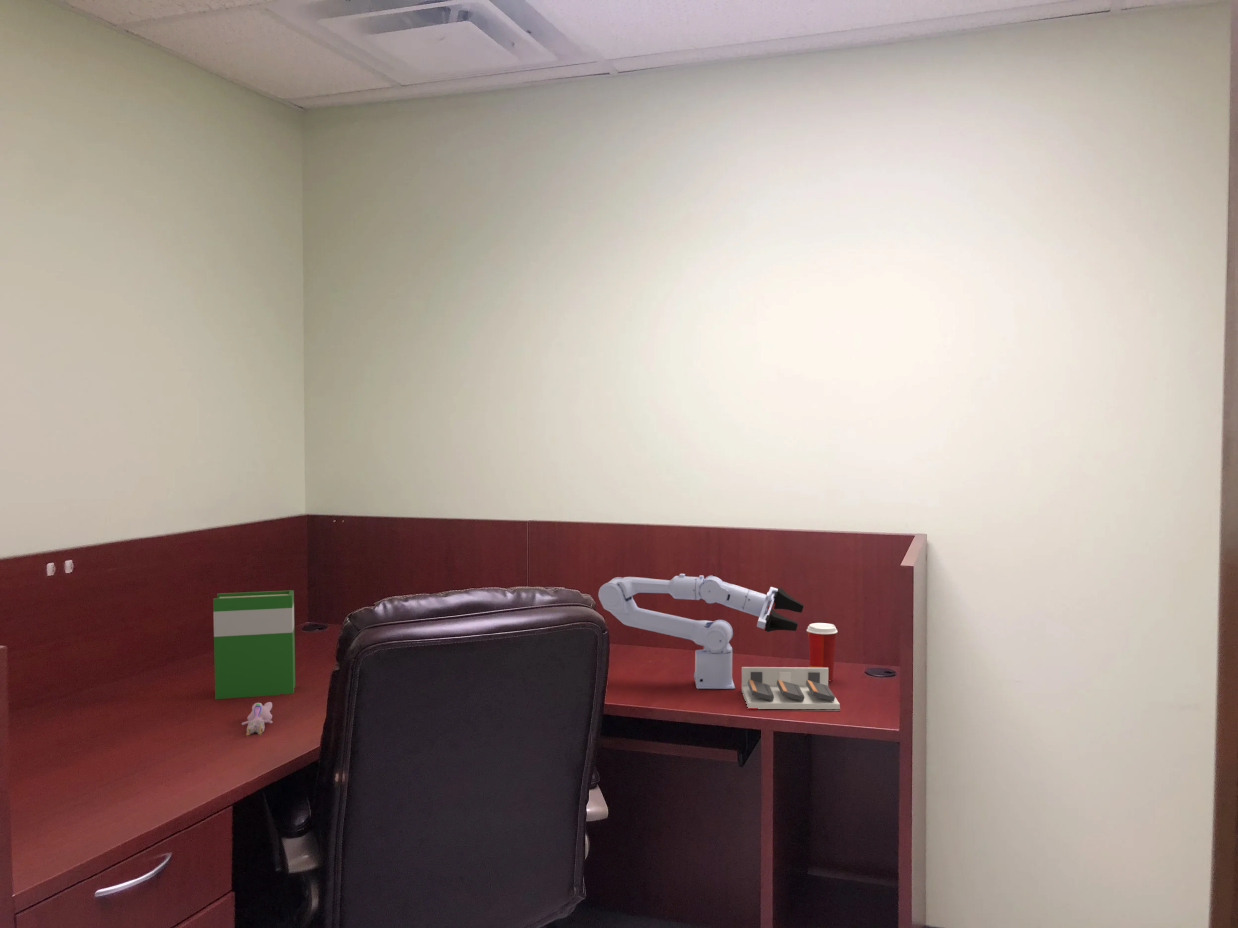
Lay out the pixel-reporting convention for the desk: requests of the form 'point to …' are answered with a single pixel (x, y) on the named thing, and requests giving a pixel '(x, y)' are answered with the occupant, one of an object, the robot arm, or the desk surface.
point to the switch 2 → (790, 690)
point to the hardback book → (254, 644)
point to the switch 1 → (760, 690)
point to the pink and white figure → (258, 718)
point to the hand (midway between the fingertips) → (800, 617)
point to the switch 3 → (820, 690)
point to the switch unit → (791, 676)
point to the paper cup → (822, 646)
